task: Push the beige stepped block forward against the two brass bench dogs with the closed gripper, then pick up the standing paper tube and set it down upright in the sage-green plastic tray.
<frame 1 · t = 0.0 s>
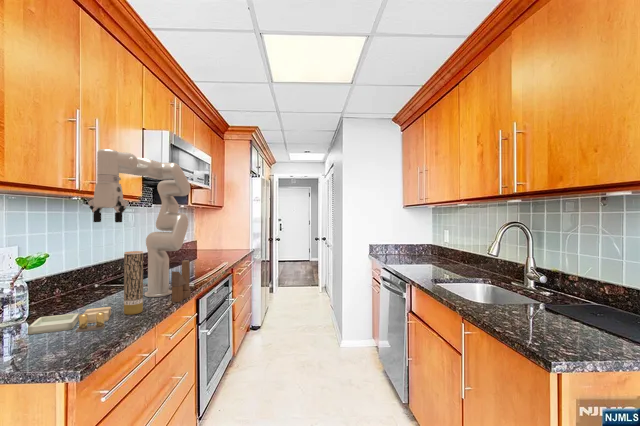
hand: (107, 222, 133), 37 cm above the table, tool pointing down, fingers open, 9 cm apart
beige stepped block: (97, 319, 127), on the table
tray: (55, 326, 118), on the table
bench dogs: (91, 327, 117), on the table
paper tube: (133, 313, 134), on the table
wooden block: (181, 299, 156), on the table
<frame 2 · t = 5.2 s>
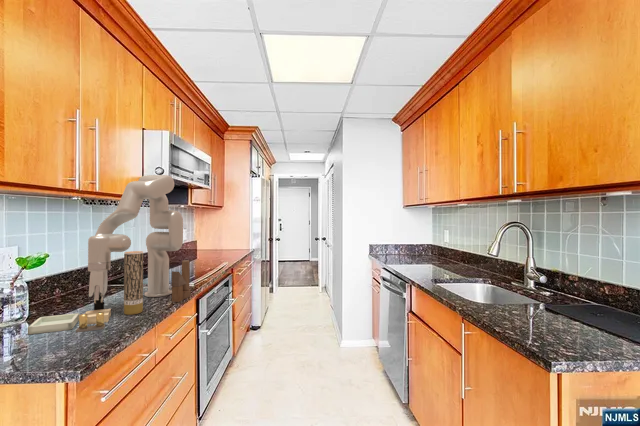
hand: (99, 312, 131), 1 cm above the table, tool pointing down, fingers closed
beige stepped block: (97, 322, 125), on the table
everything else where it was.
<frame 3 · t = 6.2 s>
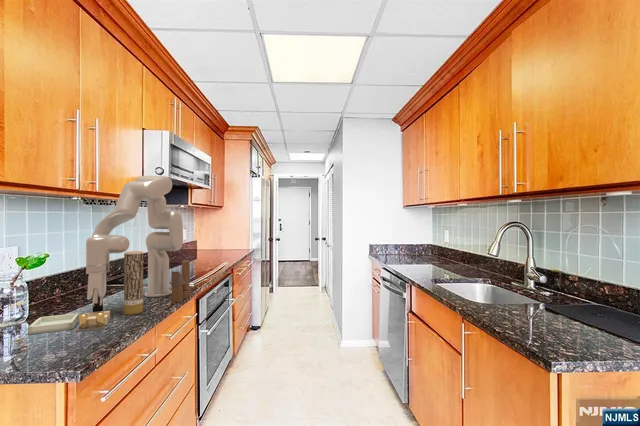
hand: (97, 315, 128), 1 cm above the table, tool pointing down, fingers closed
beige stepped block: (95, 324, 122), on the table, touching gripper
everything else where it was.
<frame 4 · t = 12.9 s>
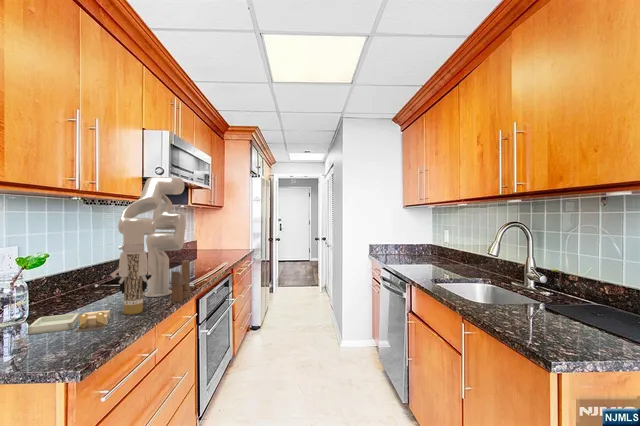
hand: (133, 291, 134), 9 cm above the table, tool pointing down, fingers closed on paper tube, 6 cm apart
beige stepped block: (95, 324, 122), on the table
paper tube: (133, 313, 134), on the table, touching gripper
everything else where it was.
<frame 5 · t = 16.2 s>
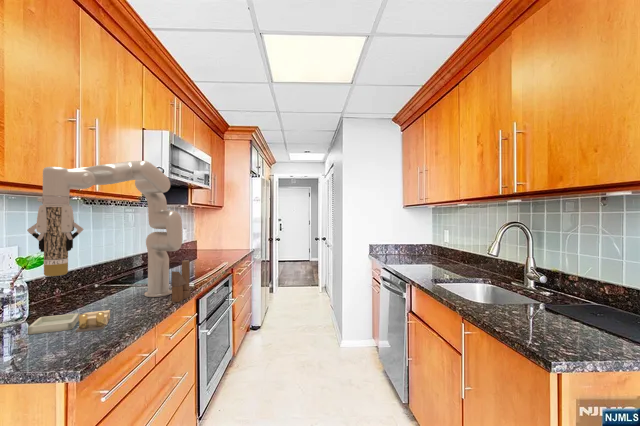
hand: (56, 250, 118), 27 cm above the table, tool pointing down, fingers closed on paper tube, 6 cm apart
paper tube: (56, 275, 118), point 18 cm above the table, touching gripper
everything else where it was.
when the fingers open (10 cm above the table, at t = 19.9 s): paper tube stays where it is, resting on tray.
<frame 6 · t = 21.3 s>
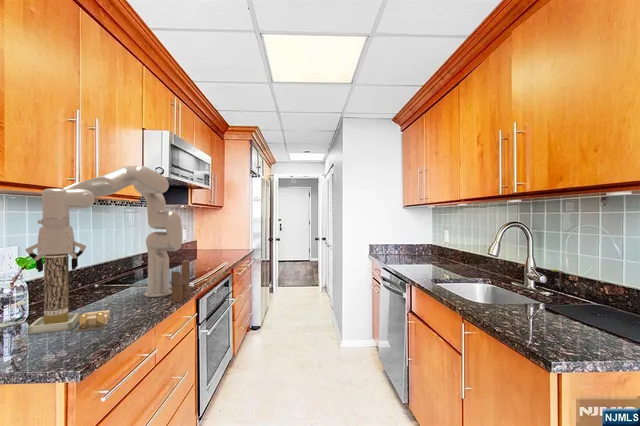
hand: (57, 270, 118), 20 cm above the table, tool pointing down, fingers open, 9 cm apart
paper tube: (56, 324, 118), point 1 cm above the table, touching tray
everything else where it was.
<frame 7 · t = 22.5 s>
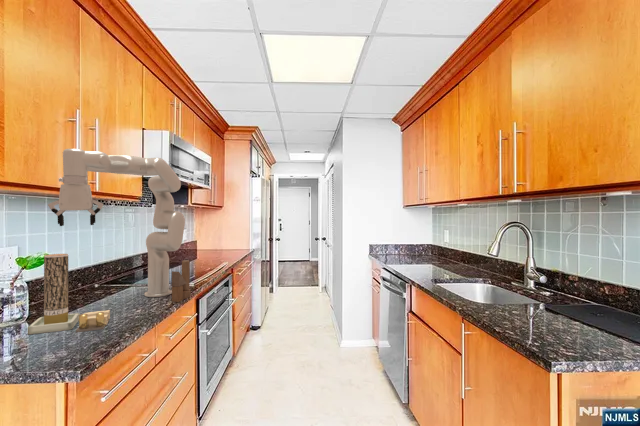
hand: (77, 225, 127), 36 cm above the table, tool pointing down, fingers open, 9 cm apart
nothing on the table moved.
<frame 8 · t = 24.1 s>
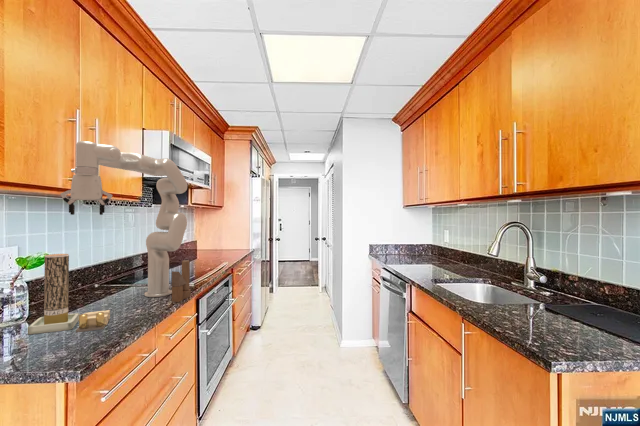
hand: (87, 214, 133), 40 cm above the table, tool pointing down, fingers open, 9 cm apart
nothing on the table moved.
at the end: beige stepped block 0.9 cm from the target spot on the table beside the bench dogs, on the table; paper tube inside the target area on the tray (0.2 cm from its centre), point 0.6 cm above the tray's base; paper tube tilted 0° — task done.
